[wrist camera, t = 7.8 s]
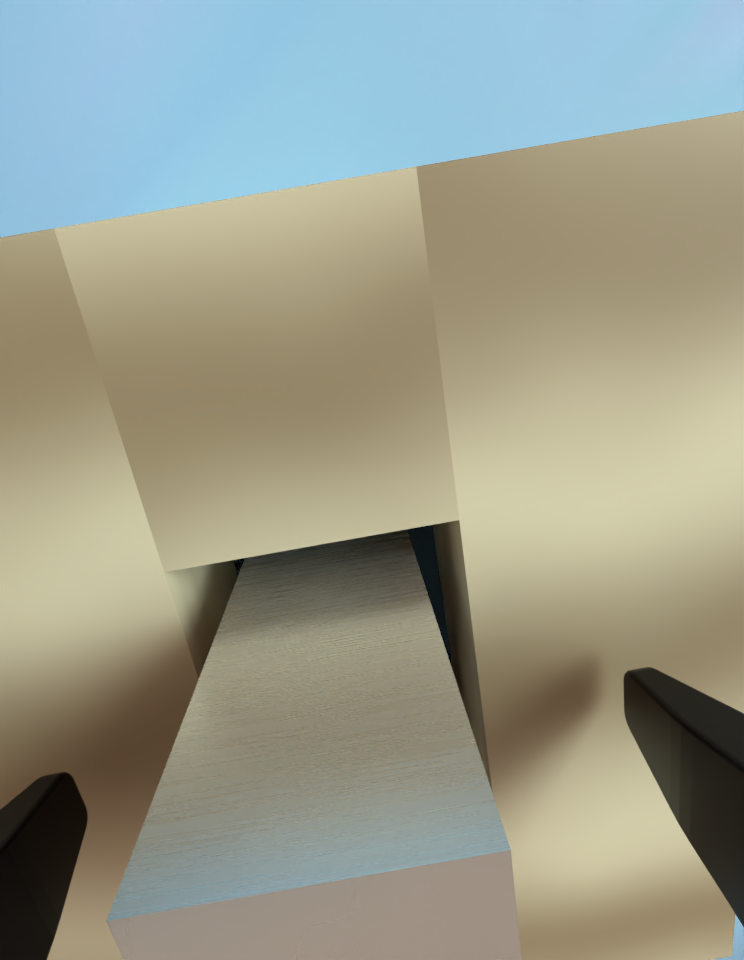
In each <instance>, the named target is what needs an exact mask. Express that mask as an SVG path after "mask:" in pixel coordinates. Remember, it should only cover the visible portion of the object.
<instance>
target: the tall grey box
mask: <svg viewBox="0 0 744 960" xmlns="http://www.w3.org/2000/svg"><path fill="white" fill-rule="evenodd" d="M106 922H107V924H108V927H109V929H110V931H111V933H112V936H113V938H114V940H115V942H116V944H117V947H118V949H119V951H120V953H121V955H122V958H123V960H522V958H521V948H520V938H519V928H518V918H517V907H516V897H515V887H514V877H513V867H512V857H511V849H510V846H509V843H508V840H507V837H506V834H505V830H504V827H503V824H502V821H501V818H500V815H499V812H498V809H497V806H496V803H495V800H494V797H493V793H492V790H491V787H490V784H489V781H488V778H487V775H486V772H485V769H484V766H483V763H482V760H481V756H480V753H479V750H478V747H477V744H476V741H475V738H474V735H473V732H472V729H471V726H470V723H469V719H468V716H467V713H466V710H465V707H464V704H463V701H462V698H461V695H460V692H459V689H458V686H457V682H456V679H455V676H454V673H453V670H452V667H451V664H450V661H449V658H448V655H447V652H446V649H445V645H444V642H443V639H442V636H441V633H440V630H439V627H438V624H437V621H436V618H435V615H434V612H433V608H432V605H431V602H430V599H429V596H428V593H427V590H426V587H425V584H424V581H423V578H422V575H421V571H420V568H419V565H418V562H417V559H416V556H415V553H414V550H413V547H412V544H411V541H410V538H409V534H408V531H407V529H406V530H400V531H395V532H389V533H383V534H378V535H372V536H367V537H361V538H355V539H350V540H344V541H338V542H333V543H327V544H321V545H316V546H310V547H304V548H299V549H293V550H287V551H282V552H276V553H271V554H265V555H259V556H254V557H248V558H245V559H244V562H243V565H242V567H241V570H240V573H239V575H238V578H237V580H236V583H235V586H234V588H233V591H232V593H231V596H230V599H229V601H228V604H227V607H226V609H225V612H224V614H223V617H222V620H221V622H220V625H219V627H218V630H217V633H216V635H215V638H214V641H213V643H212V646H211V648H210V651H209V654H208V656H207V659H206V662H205V664H204V667H203V669H202V672H201V675H200V677H199V680H198V682H197V685H196V688H195V690H194V693H193V696H192V698H191V701H190V703H189V706H188V709H187V711H186V714H185V716H184V719H183V722H182V724H181V727H180V730H179V732H178V735H177V737H176V740H175V743H174V745H173V748H172V751H171V753H170V756H169V758H168V761H167V764H166V766H165V769H164V771H163V774H162V777H161V779H160V782H159V785H158V787H157V790H156V792H155V795H154V798H153V800H152V803H151V805H150V808H149V811H148V813H147V816H146V819H145V821H144V824H143V826H142V829H141V832H140V834H139V837H138V840H137V842H136V845H135V847H134V850H133V853H132V855H131V858H130V860H129V863H128V866H127V868H126V871H125V874H124V876H123V879H122V881H121V884H120V887H119V889H118V892H117V894H116V897H115V900H114V902H113V905H112V908H111V910H110V913H109V915H108V918H107V921H106Z"/></svg>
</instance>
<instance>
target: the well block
mask: <svg viewBox="0 0 744 960" xmlns="http://www.w3.org/2000/svg"><path fill="white" fill-rule="evenodd" d="M429 525H433V532H434V539H435V547H436V554H437V561H438V568H439V575H440V582H441V590H442V597H443V604H444V611H445V618H446V625H447V633H448V640H449V647H450V654H451V661H452V668H453V673H454V676H455V679H456V682H457V686H458V689H459V692H460V695H461V698H462V701H463V704H464V707H465V710H466V713H467V716H468V719H469V723H470V726H471V729H472V732H473V735H474V738H475V741H476V744H477V747H478V750H479V753H480V756H481V760H482V763H483V766H484V769H485V772H486V775H487V778H488V781H489V784H490V787H491V790H492V793H493V797H494V800H495V803H496V806H497V809H498V812H499V815H500V818H501V821H502V824H503V827H504V830H505V834H506V837H507V840H508V843H509V846H510V849H511V857H512V867H513V877H514V887H515V897H516V907H517V918H518V928H519V938H520V948H521V958H522V960H712V959H718V958H723V957H728V956H732V950H733V936H734V922H735V912H734V911H733V909H732V908H731V906H730V905H729V903H728V902H727V900H726V898H725V897H724V895H723V894H722V892H721V891H720V889H719V887H718V886H717V884H716V883H715V881H714V880H713V878H712V876H711V875H710V873H709V872H708V870H707V869H706V867H705V865H704V864H703V862H702V861H701V859H700V858H699V856H698V855H697V853H696V851H695V850H694V848H693V847H692V845H691V844H690V842H689V840H688V839H687V837H686V835H685V834H684V832H683V831H682V829H681V827H680V826H679V824H678V822H677V820H676V818H675V816H674V815H673V813H672V811H671V809H670V807H669V805H668V803H667V801H666V799H665V797H664V796H663V794H662V792H661V790H660V788H659V786H658V784H657V782H656V780H655V778H654V776H653V774H652V772H651V770H650V768H649V766H648V764H647V762H646V760H645V759H644V757H643V755H642V753H641V751H640V749H639V747H638V745H637V743H636V741H635V739H634V737H633V735H632V733H631V731H630V729H629V727H628V725H627V722H626V719H625V714H624V685H623V679H624V674H625V673H626V672H627V671H628V670H633V669H638V668H644V667H652V668H655V669H657V670H659V671H661V672H663V673H665V674H667V675H669V676H671V677H673V678H675V679H677V680H679V681H681V682H683V683H685V684H687V685H689V686H691V687H693V688H695V689H696V690H698V691H700V692H702V693H704V694H706V695H708V696H710V697H712V698H714V699H716V700H718V701H720V702H722V703H724V704H726V705H728V706H730V707H732V708H734V709H736V710H738V711H740V712H742V713H744V111H740V112H734V113H728V114H722V115H716V116H710V117H704V118H699V119H693V120H687V121H681V122H675V123H669V124H663V125H658V126H652V127H646V128H640V129H634V130H628V131H622V132H617V133H611V134H605V135H599V136H593V137H587V138H581V139H576V140H570V141H564V142H558V143H552V144H546V145H541V146H535V147H529V148H523V149H517V150H511V151H505V152H500V153H494V154H488V155H482V156H476V157H470V158H464V159H459V160H453V161H447V162H441V163H435V164H429V165H423V166H418V167H412V168H406V169H400V170H394V171H388V172H382V173H377V174H371V175H365V176H359V177H353V178H347V179H341V180H336V181H330V182H324V183H318V184H312V185H306V186H300V187H295V188H289V189H283V190H277V191H271V192H265V193H259V194H254V195H248V196H242V197H236V198H230V199H224V200H218V201H213V202H207V203H201V204H195V205H189V206H183V207H177V208H172V209H166V210H160V211H154V212H148V213H142V214H136V215H131V216H125V217H119V218H113V219H107V220H101V221H95V222H90V223H84V224H78V225H72V226H66V227H60V228H54V229H49V230H43V231H37V232H31V233H25V234H19V235H13V236H8V237H2V238H0V809H1V808H3V807H4V806H5V805H6V804H8V803H9V802H10V801H11V800H12V799H14V798H15V797H16V796H17V795H18V794H20V793H21V792H22V791H23V790H24V789H26V788H27V787H28V786H29V785H30V784H32V783H33V782H34V781H35V780H37V779H38V778H40V777H42V776H45V775H49V774H55V773H60V772H68V773H69V774H71V775H72V777H73V778H74V781H75V783H76V785H77V787H78V790H79V792H80V794H81V796H82V799H83V801H84V803H85V805H86V808H87V813H88V821H87V827H86V831H85V834H84V838H83V841H82V845H81V848H80V852H79V855H78V859H77V862H76V866H75V869H74V873H73V877H72V880H71V884H70V887H69V891H68V894H67V898H66V901H65V905H64V908H63V912H62V915H61V919H60V922H59V925H58V928H57V932H56V935H55V938H54V941H53V944H52V946H51V949H50V952H49V955H48V958H47V960H123V958H122V955H121V953H120V951H119V949H118V947H117V944H116V942H115V940H114V938H113V936H112V933H111V931H110V929H109V927H108V924H107V922H106V921H107V918H108V915H109V913H110V910H111V908H112V905H113V902H114V900H115V897H116V894H117V892H118V889H119V887H120V884H121V881H122V879H123V876H124V874H125V871H126V868H127V866H128V863H129V860H130V858H131V855H132V853H133V850H134V847H135V845H136V842H137V840H138V837H139V834H140V832H141V829H142V826H143V824H144V821H145V819H146V816H147V813H148V811H149V808H150V805H151V803H152V800H153V798H154V795H155V792H156V790H157V787H158V785H159V782H160V779H161V777H162V774H163V771H164V769H165V766H166V764H167V761H168V758H169V756H170V753H171V751H172V748H173V745H174V743H175V740H176V737H177V735H178V732H179V730H180V727H181V724H182V722H183V719H184V716H185V714H186V711H187V709H188V706H189V703H190V701H191V698H192V696H193V693H194V690H195V688H196V685H197V682H198V680H199V677H200V675H201V672H202V669H203V667H204V664H205V662H206V659H207V656H208V654H209V651H210V648H211V646H212V643H213V641H214V638H215V635H216V633H217V630H218V627H219V625H220V622H221V620H222V617H223V614H224V612H225V609H226V607H227V604H228V601H229V599H230V596H231V593H232V591H233V588H234V586H235V583H236V580H237V578H238V574H237V570H236V567H235V563H234V560H237V559H242V558H248V557H254V556H259V555H265V554H271V553H276V552H282V551H287V550H293V549H299V548H304V547H310V546H316V545H321V544H327V543H333V542H338V541H344V540H350V539H355V538H361V537H367V536H372V535H378V534H383V533H389V532H395V531H400V530H406V529H412V528H417V527H423V526H429Z"/></svg>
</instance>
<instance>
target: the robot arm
mask: <svg viewBox="0 0 744 960" xmlns="http://www.w3.org/2000/svg"><path fill="white" fill-rule="evenodd" d="M623 685H624V714H625V719H626V722H627V725H628V727H629V729H630V731H631V733H632V735H633V737H634V739H635V741H636V743H637V745H638V747H639V749H640V751H641V753H642V755H643V757H644V759H645V760H646V762H647V764H648V766H649V768H650V770H651V772H652V774H653V776H654V778H655V780H656V782H657V784H658V786H659V788H660V790H661V792H662V794H663V796H664V797H665V799H666V801H667V803H668V805H669V807H670V809H671V811H672V813H673V815H674V816H675V818H676V820H677V822H678V824H679V826H680V827H681V829H682V831H683V832H684V834H685V835H686V837H687V839H688V840H689V842H690V844H691V845H692V847H693V848H694V850H695V851H696V853H697V855H698V856H699V858H700V859H701V861H702V862H703V864H704V865H705V867H706V869H707V870H708V872H709V873H710V875H711V876H712V878H713V880H714V881H715V883H716V884H717V886H718V887H719V889H720V891H721V892H722V894H723V895H724V897H725V898H726V900H727V902H728V903H729V905H730V906H731V908H732V909H733V911H734V912H735V914H736V916H737V917H738V919H739V920H740V922H741V923H742V925H743V927H744V713H742V712H740V711H738V710H736V709H734V708H732V707H730V706H728V705H726V704H724V703H722V702H720V701H718V700H716V699H714V698H712V697H710V696H708V695H706V694H704V693H702V692H700V691H698V690H696V689H695V688H693V687H691V686H689V685H687V684H685V683H683V682H681V681H679V680H677V679H675V678H673V677H671V676H669V675H667V674H665V673H663V672H661V671H659V670H657V669H655V668H652V667H644V668H638V669H633V670H628V671H627V672H626V673H625V674H624V679H623ZM87 821H88V813H87V808H86V805H85V803H84V801H83V799H82V796H81V794H80V792H79V790H78V787H77V785H76V783H75V781H74V778H73V777H72V775H71V774H69V773H68V772H60V773H55V774H49V775H45V776H42V777H40V778H38V779H37V780H35V781H34V782H33V783H32V784H30V785H29V786H28V787H27V788H26V789H24V790H23V791H22V792H21V793H20V794H18V795H17V796H16V797H15V798H14V799H12V800H11V801H10V802H9V803H8V804H6V805H5V806H4V807H3V808H1V809H0V960H47V958H48V955H49V952H50V949H51V946H52V944H53V941H54V938H55V935H56V932H57V928H58V925H59V922H60V919H61V915H62V912H63V908H64V905H65V901H66V898H67V894H68V891H69V887H70V884H71V880H72V877H73V873H74V869H75V866H76V862H77V859H78V855H79V852H80V848H81V845H82V841H83V838H84V834H85V831H86V827H87Z"/></svg>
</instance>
